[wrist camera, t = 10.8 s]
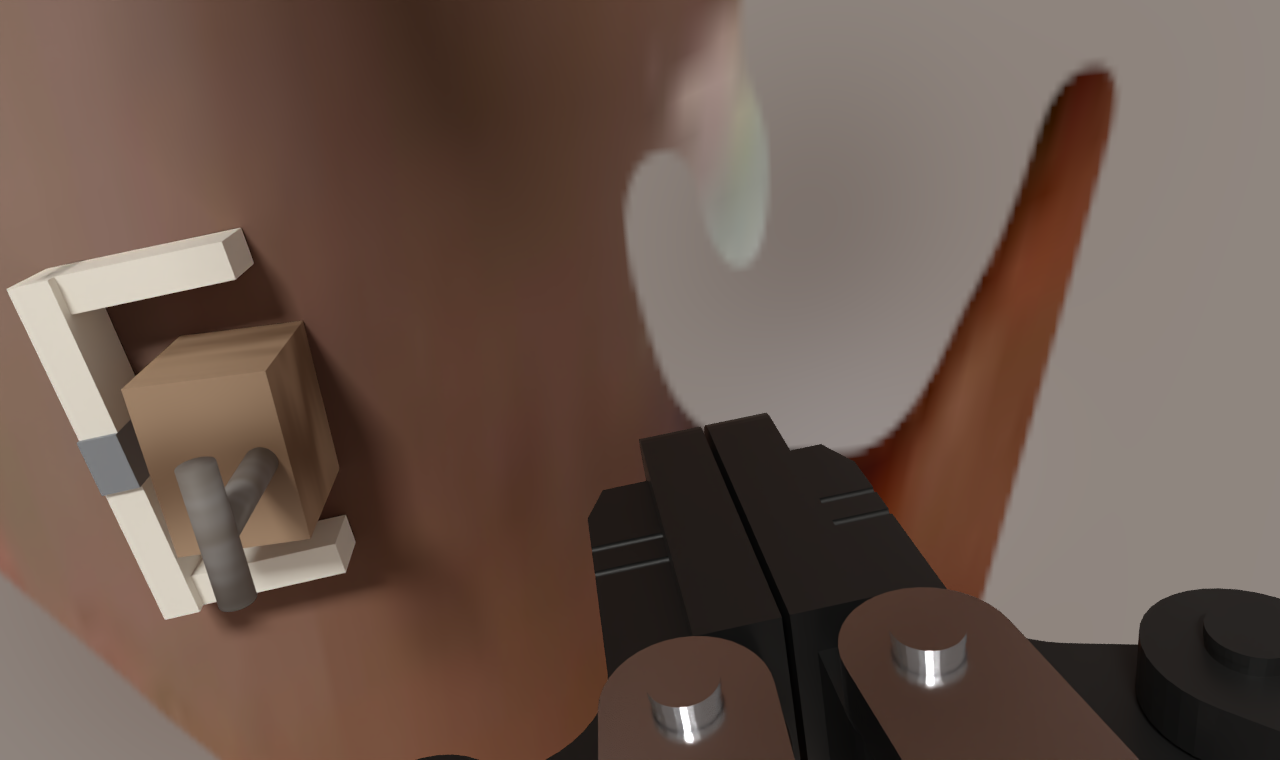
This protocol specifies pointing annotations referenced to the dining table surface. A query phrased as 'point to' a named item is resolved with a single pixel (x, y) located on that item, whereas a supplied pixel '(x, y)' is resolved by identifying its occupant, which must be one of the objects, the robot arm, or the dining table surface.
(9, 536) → the dining table surface
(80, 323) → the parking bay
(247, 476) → the tan block
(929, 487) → the dining table surface
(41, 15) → the dining table surface
